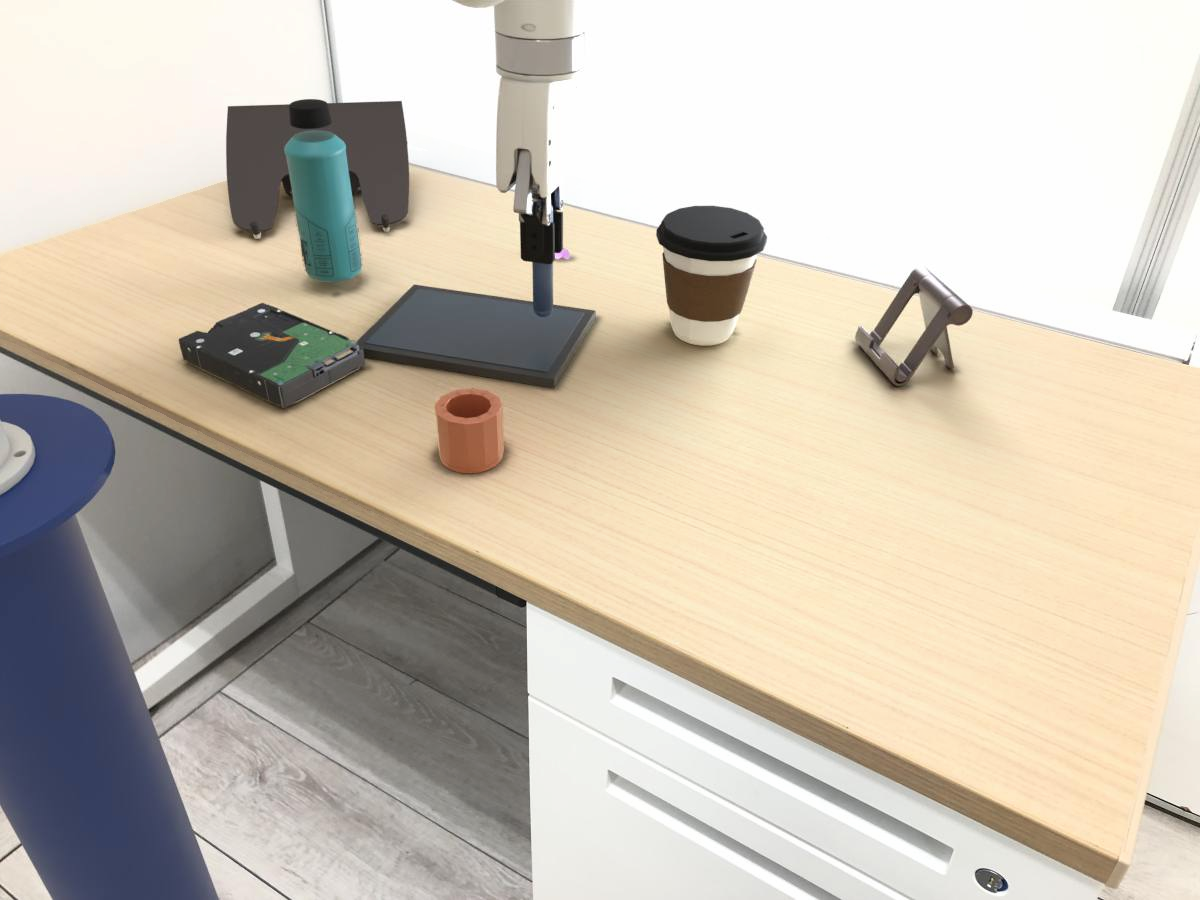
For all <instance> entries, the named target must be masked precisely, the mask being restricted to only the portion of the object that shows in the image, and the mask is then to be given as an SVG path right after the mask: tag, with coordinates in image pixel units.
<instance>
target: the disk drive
mask: <svg viewBox="0 0 1200 900" xmlns="http://www.w3.org/2000/svg"><path fill="white" fill-rule="evenodd" d="M178 343H179V348H180V351H181V355H182V359H183V361H186V362H188V364H190V365H191V366H194V367H195V368H198V369H200V370H201V371H204V372H207V373H208V374H210V375H212V376H214V377H216V378H218V379H221V380H223V382H224V381H225V382H227V383H228V384H230V385H234V386H236V387H238V388H239V389H241V390H244V391H245V392H248V393H249V394H252V395H254V396H255V397H258V398H260V399H261V400H264V401H266V402H268V403H270V404H272V405H275V406H277V407H281V408H282V409H285V408H287V407H288V406H292V405H293V404H296V403H299V402H300V401H302V400H304V399H306V398H307V397H310V396H311V395H314V394H315V393H317V392H319V391H320V390H322V389H325V388H326V387H328V386H331V385H332V384H334V383H336V382H337V381H339V380H341V379H343V378H345V377H347V376H348V375H350V374H352V373H354V372H356V371H358V370H360V368H361V367H363V366H365V364H366V362H365V357H364V352H363V349H362V348H360V347H359V345H357V341H354V340H352V339H350V338H349V336H346V335H343V334H341V333H338V332H337V331H336V332H335V331H333V330H331V329H328V328H326V327H323V326H321V325H319V324H316V323H314V322H312V321H308V320H306V319H304V318H302V317H300V316H296V315H294V314H292V313H290V312H287V311H285V310H282V309H280V308H278V307H275V306H273V305H271V304H267V303H265V302H261V303H258V304H255V305H253V306H251V307H249V308H246V309H245V310H243V311H240V312H238V313H236V314H233V315H231V316H228V317H226V318H223V319H221V320H219V321H216V322H215V324H214V325H213V326H212V327H211V328H210V330H208V331H207V332H206V331H205V332H204V331H200V330H195V331H194V332H191V333H189V334H187V335H184V336H182V337H180V338H178Z"/></svg>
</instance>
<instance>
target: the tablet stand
mask: <svg viewBox="0 0 1200 900" xmlns="http://www.w3.org/2000/svg"><path fill="white" fill-rule="evenodd" d="M916 294H918V296H919V297H918V298H919V302H920V307H921V313H922V317H923V322H924V327H925V329H924V330H923V332H922V334H921V335H920V337H919V338H918V340H917V341H916V343H914V346H913V347H912V349H911V350H910V352H909V353H908V354H907V356H906V357H905V359H904V361H903V362H901V363H900V364H899V365H898V364H897V363H896V362H895V361H894V360H893V358H891V356H890V355H889V354H888V353H887V352H886V351H885V350H883V348H881V345H882V343H883V341H884V340H885V338H886V337H887V336H888V334H889V332H890V331H891V329H892V328H893V327H894V325H895V323H896V322H897V320H898V319H899V317H900V316H901V314H902V312H903V311H904V310H905V308H906V307H907V305H908V304H909V302H910V301H911V299H912V297H913V296H915V295H916ZM973 313H974V312H973V308H972V307H971V305H969V304H968V303H967V302H966V301H965V300H963V299H962V297H960V296H959V295H958V294H956V293H955V292H954V291H953V290H952V289H951V288H949V286H947V285H946V284H945V283H944V282H942V281H941V280H940V279H939V278H938V277H937V276H936V275H935V274H933V273H932V272H931V270H929V269H928V268H926V267H925V266H918V267H916V268H914V269H913V270H912V271H911V272H910V274H909V276H908V277H907V278H906V280H905V281H904V282H903V284H902V286H901V287H900V289H899V290H898V291H897V294H896V295H895V297H894V298H893V300H892V301H891V303H890V304H889V306H888V307H887V309H886V310H885V312H884V313H883V315H882V317H881V318H880V320H879V321H878V322H877V324H876V326H875V327H874V329H873V330H871V332H870V333H869V332H867V330H866V329H865V328H864V327H863V326H862V325H859V326H858V327H857V330H856V332H855V335H854V340H855V342H856V343H857V345H858V346H860V349H862V350H863V351H864V353H866V354H867V356H868V357H869V358H870V359H871V360H872V361H873V362H874V364H875V365H876V366H877V367H878V369H880V370H881V371H882V372H883V374H884V375H885V377H886V378H887V379H888V380H889V381H890V382H891V383H892V384H893V385H894V386H896V387H902V386H904V385H906V384H907V383H908V382H909V381H910V380H911V378H912V377H913V376H914V374H915V372H916V371H917V369H918V368H919V367H920V366H921V364H922V362H923V361H924V360H925V358H926V357H927V355H928V354H929V352H930V351H932V352H933V353H934V355H938V354H939V351H940V352H941V354H942V357H943V360H944V363H945V365H946V366H947V367H948V369H950V370H953V369H955V365H954V359H953V353H952V348H951V343H950V337H949V332H948V326H949V325H954V326H957V327H958V326H964V325H966V324H967V323H968V322H969V321H970V320H971V319H972V317H973Z"/></svg>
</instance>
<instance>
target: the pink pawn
mask: <svg viewBox="0 0 1200 900" xmlns="http://www.w3.org/2000/svg"><path fill="white" fill-rule="evenodd" d="M570 256H571V253H570V251H569V250H568V249H567V248H564V247H563V250H562V251H561V252H560V253H555V260H559V259H561V258H563V259H564V260H569V259H570Z"/></svg>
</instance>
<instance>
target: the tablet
mask: <svg viewBox="0 0 1200 900" xmlns="http://www.w3.org/2000/svg"><path fill="white" fill-rule="evenodd" d="M596 318H597V311H596V310H594V309H588V308H580V307H574V306H567V305H559V304H553V311H552V313H551V314H550V315H549V316H547V317H540V316H538V315H536V314H535V312H534V310H533V300H524V299H519V298H511V297H504V296H497V295H492V294H491V295H490V294H483V293H477V292H471V291H462V290H457V289H456V290H455V289H449V288H442V287H435V286H428V285H421V284H413V285H412V286H411V287H410V288H409V289H408V290H407V291H405V293H404V294H403V295H402V296H401V297H399V299H398V300H397V301H396V302H394V303H393V305H392V306H391V307H390V308H389V309H388V310H387V311H386V312H385V313H383V315H381V317H380V318H378V320H376V321H375V322H374V324H373V325H371V327H370V328H369V329H367V331H365V332H364V334H363V335H361V336H360V338H359V339H358V340H357V341H356V342H357V345H359V347H360V348H362V349H363V352H364V358H367V359H374V360H378V361H385V362H392V363H396V364H402V365H403V364H404V365H410V366H415V367H422V368H427V369H428V368H429V369H433V370H434V369H435V370H440V371H445V372H453V373H458V374H459V373H460V374H465V375H472V376H478V377H482V378H483V377H485V378H490V379H495V380H502V381H509V382H515V383H521V384H527V385H531V386H532V385H534V386H539V387H545V388H552V389H555V387H556V386H557V384H558V383H559V381H560V379H561V378H562V376H563V374H564V372H565V371H566V369H567V368H568V366H569V364H570V363H571V361H572V359H573V357H574V356H575V354H576V353H577V351H578V349H579V347H580V345H581V344H582V342H583V341H584V339H585V337H586V336H587V334H588V332H589V331H590V329H591V327H592V325H593V324H594V322H595V321H596Z"/></svg>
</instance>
